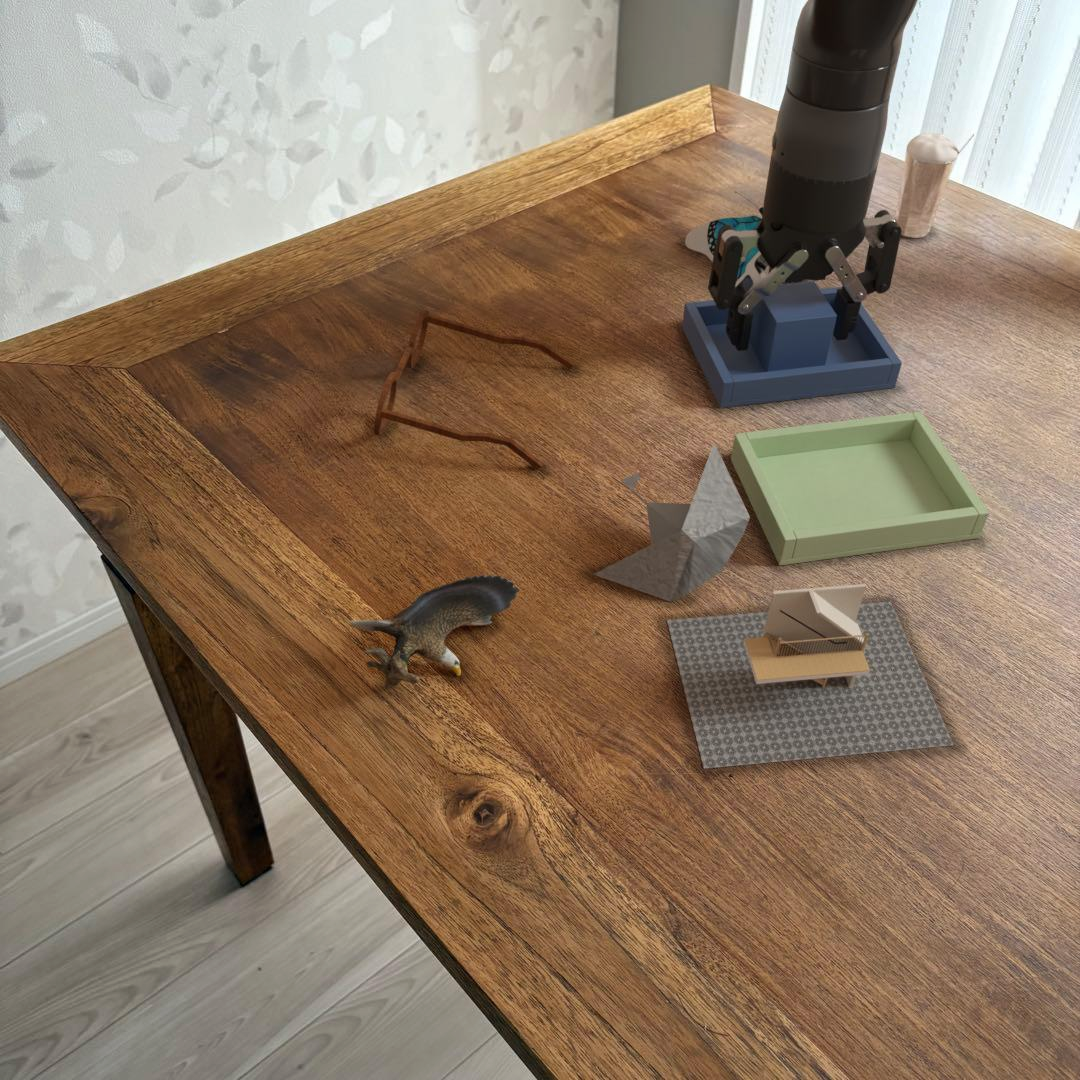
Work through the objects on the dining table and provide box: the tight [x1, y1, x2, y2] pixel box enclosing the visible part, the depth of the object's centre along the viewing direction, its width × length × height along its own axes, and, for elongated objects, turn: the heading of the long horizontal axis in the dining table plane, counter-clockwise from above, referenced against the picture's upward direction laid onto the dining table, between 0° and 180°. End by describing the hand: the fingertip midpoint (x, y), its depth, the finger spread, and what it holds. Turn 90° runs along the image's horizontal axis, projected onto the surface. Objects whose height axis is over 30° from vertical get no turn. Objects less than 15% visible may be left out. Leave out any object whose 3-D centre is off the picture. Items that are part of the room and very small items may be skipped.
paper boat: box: [592, 442, 751, 603], centre depth 74 cm, size 12×6×9 cm
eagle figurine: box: [348, 574, 520, 690], centre depth 68 cm, size 8×7×9 cm
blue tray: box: [681, 286, 903, 409], centre depth 91 cm, size 15×11×2 cm
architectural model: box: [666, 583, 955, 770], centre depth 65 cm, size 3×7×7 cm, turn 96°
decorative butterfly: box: [684, 190, 770, 282], centre depth 100 cm, size 10×6×10 cm
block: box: [749, 280, 837, 372], centre depth 90 cm, size 5×5×5 cm
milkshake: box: [894, 133, 975, 239], centre depth 102 cm, size 4×5×10 cm
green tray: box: [730, 411, 990, 566], centre depth 79 cm, size 15×11×2 cm
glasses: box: [373, 308, 575, 470], centre depth 85 cm, size 13×13×5 cm
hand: (788, 339), depth 91 cm, fingers open, 8 cm apart
